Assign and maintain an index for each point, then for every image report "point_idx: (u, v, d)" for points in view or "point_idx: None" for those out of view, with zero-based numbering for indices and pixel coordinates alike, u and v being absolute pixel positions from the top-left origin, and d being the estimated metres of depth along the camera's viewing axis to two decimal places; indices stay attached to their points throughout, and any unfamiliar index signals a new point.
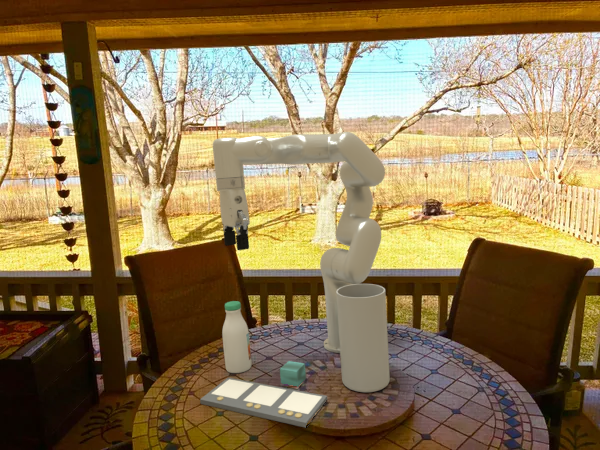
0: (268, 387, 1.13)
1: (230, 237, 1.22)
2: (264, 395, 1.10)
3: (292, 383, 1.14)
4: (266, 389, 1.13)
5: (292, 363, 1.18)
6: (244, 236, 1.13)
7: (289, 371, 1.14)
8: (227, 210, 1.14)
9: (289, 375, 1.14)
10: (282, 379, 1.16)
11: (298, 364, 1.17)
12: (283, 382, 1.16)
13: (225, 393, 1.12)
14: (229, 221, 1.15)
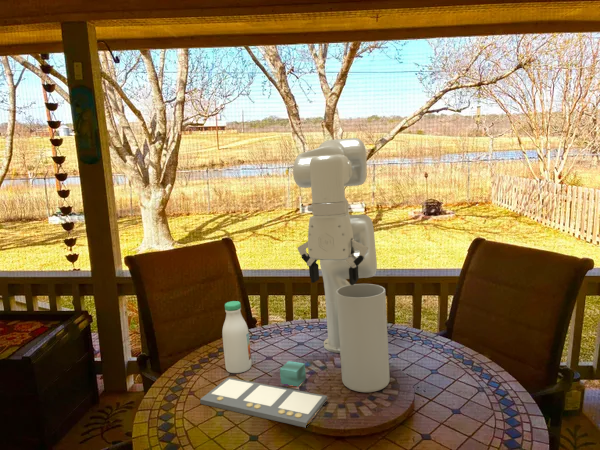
0: (268, 387, 1.13)
1: None
2: (264, 395, 1.10)
3: (292, 383, 1.14)
4: (266, 389, 1.13)
5: (292, 363, 1.18)
6: None
7: (289, 371, 1.14)
8: None
9: (289, 375, 1.14)
10: (282, 379, 1.16)
11: (298, 364, 1.17)
12: (283, 382, 1.16)
13: (225, 393, 1.12)
14: None
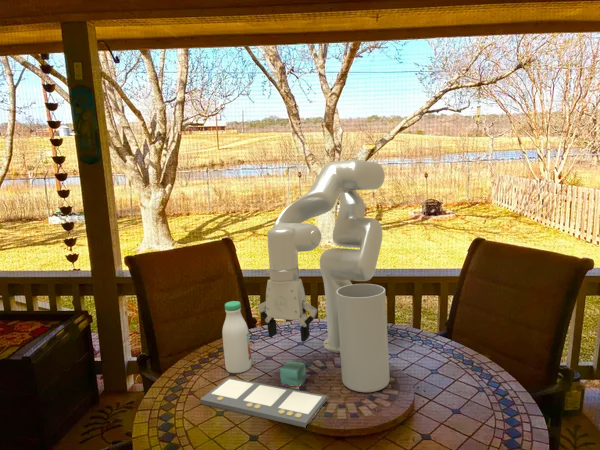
0: (268, 387, 1.13)
1: None
2: (264, 395, 1.10)
3: (292, 383, 1.14)
4: (266, 389, 1.13)
5: (292, 363, 1.18)
6: None
7: (289, 371, 1.14)
8: None
9: (289, 375, 1.14)
10: (282, 379, 1.16)
11: (298, 364, 1.17)
12: (283, 382, 1.16)
13: (225, 393, 1.12)
14: None
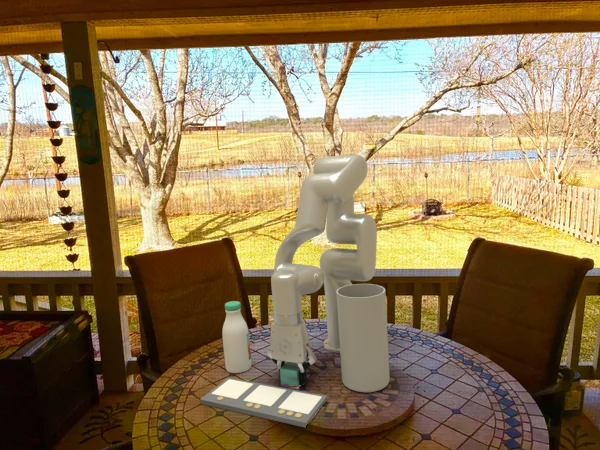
0: (268, 387, 1.13)
1: None
2: (264, 395, 1.10)
3: (292, 383, 1.14)
4: (266, 389, 1.13)
5: (292, 363, 1.18)
6: None
7: (289, 371, 1.14)
8: None
9: (289, 374, 1.14)
10: (282, 379, 1.16)
11: None
12: (283, 382, 1.16)
13: (225, 393, 1.12)
14: None
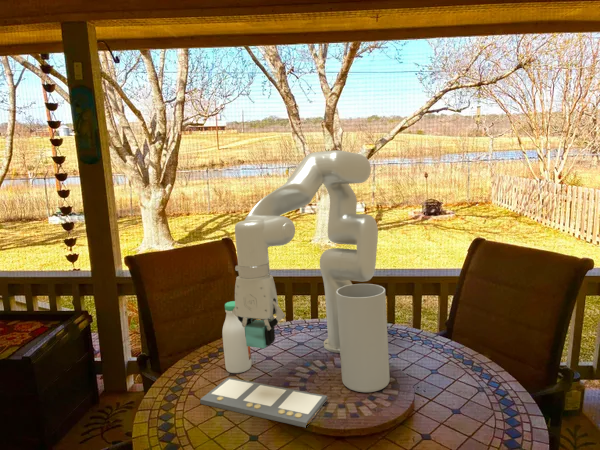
0: (268, 387, 1.13)
1: None
2: (264, 395, 1.10)
3: (258, 341, 1.05)
4: (266, 389, 1.13)
5: (259, 322, 1.09)
6: None
7: (254, 328, 1.05)
8: None
9: (254, 332, 1.05)
10: (247, 338, 1.06)
11: None
12: (248, 341, 1.06)
13: (225, 393, 1.12)
14: None
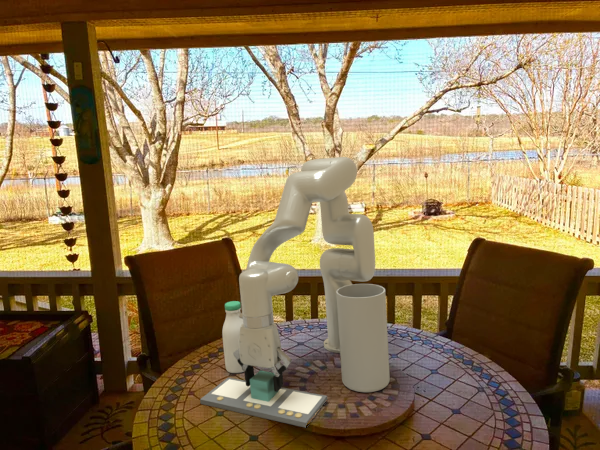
0: None
1: None
2: None
3: (262, 395, 1.07)
4: None
5: (263, 373, 1.11)
6: None
7: (259, 382, 1.07)
8: None
9: (259, 385, 1.07)
10: (252, 390, 1.08)
11: (270, 374, 1.10)
12: (253, 393, 1.08)
13: (225, 393, 1.12)
14: None
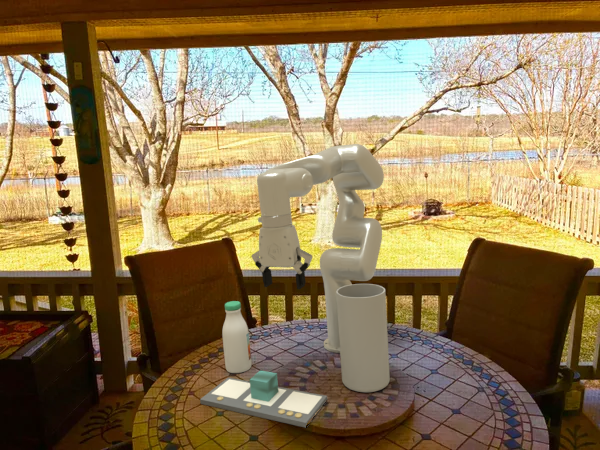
0: None
1: None
2: None
3: (262, 395, 1.07)
4: None
5: (263, 373, 1.11)
6: None
7: (259, 382, 1.07)
8: None
9: (259, 385, 1.07)
10: (252, 390, 1.08)
11: (270, 374, 1.10)
12: (253, 393, 1.08)
13: (225, 393, 1.12)
14: None
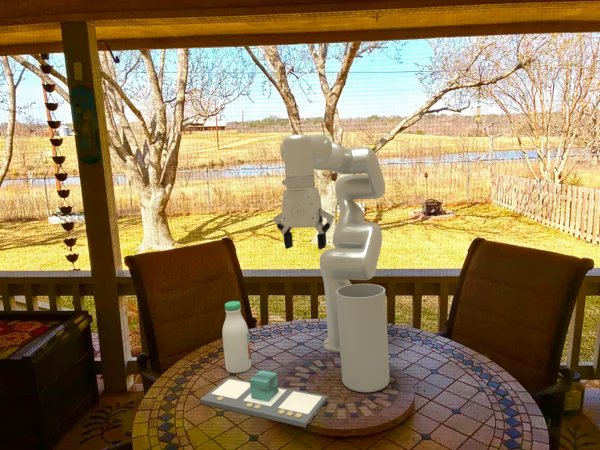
0: None
1: None
2: None
3: (262, 395, 1.07)
4: None
5: (263, 373, 1.11)
6: None
7: (259, 382, 1.07)
8: None
9: (259, 385, 1.07)
10: (252, 390, 1.08)
11: (270, 374, 1.10)
12: (253, 393, 1.08)
13: (225, 393, 1.12)
14: None
